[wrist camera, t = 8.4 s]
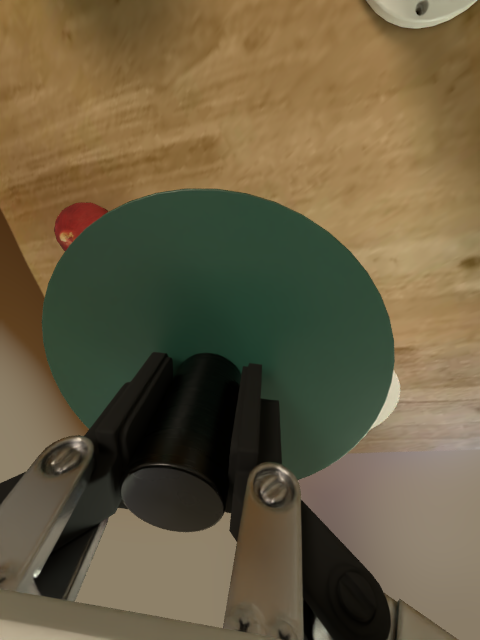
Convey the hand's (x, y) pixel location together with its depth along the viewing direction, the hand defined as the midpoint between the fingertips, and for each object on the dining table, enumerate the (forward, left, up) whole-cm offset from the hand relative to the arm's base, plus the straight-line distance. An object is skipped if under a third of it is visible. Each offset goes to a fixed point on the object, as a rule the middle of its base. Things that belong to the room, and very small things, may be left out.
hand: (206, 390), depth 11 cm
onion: (-2, -16, -23) cm, 28 cm away
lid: (0, 0, -1) cm, 1 cm away
